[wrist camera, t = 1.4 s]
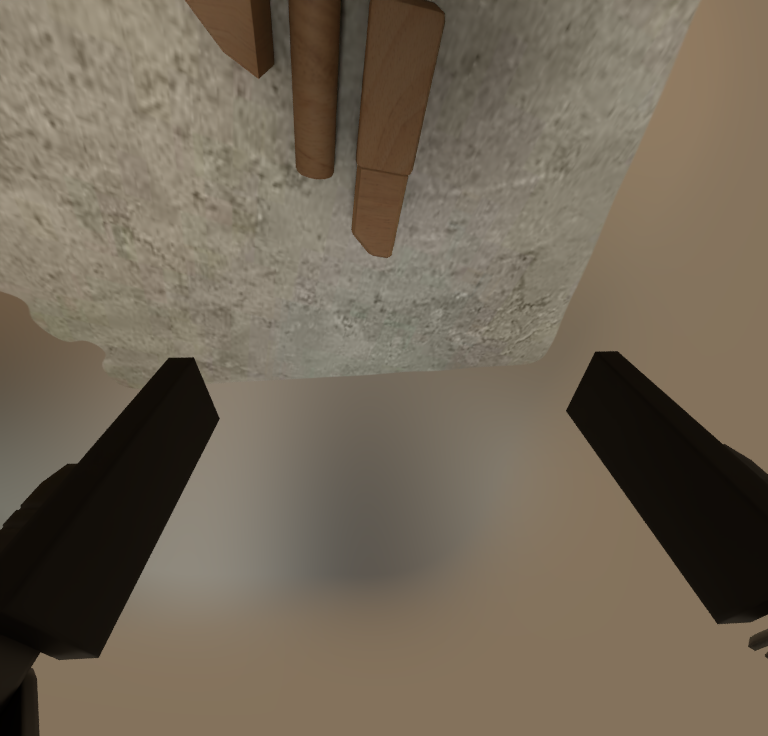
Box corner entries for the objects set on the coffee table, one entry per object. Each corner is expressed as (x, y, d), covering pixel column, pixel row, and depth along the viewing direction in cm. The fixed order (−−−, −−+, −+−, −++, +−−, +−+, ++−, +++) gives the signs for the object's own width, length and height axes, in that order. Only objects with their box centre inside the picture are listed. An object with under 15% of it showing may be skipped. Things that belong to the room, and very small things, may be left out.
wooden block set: (455, -11, 17) (393, 267, 32) (444, -16, 21) (392, 237, 35) (118, -103, 15) (213, 240, 29) (168, -91, 19) (231, 210, 33)
